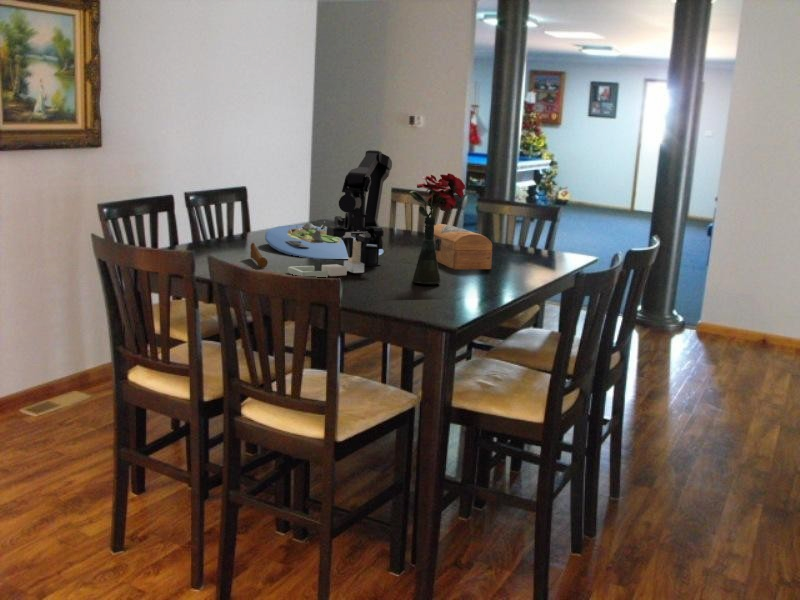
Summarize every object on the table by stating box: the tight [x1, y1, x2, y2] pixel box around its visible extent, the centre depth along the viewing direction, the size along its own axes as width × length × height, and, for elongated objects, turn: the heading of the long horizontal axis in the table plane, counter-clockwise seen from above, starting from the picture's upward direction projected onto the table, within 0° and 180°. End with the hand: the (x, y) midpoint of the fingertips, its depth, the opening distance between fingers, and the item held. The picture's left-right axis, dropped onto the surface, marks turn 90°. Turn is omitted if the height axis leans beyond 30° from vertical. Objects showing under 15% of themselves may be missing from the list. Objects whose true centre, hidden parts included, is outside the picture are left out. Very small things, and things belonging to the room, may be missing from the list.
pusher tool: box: [343, 241, 365, 274], centre depth 271 cm, size 4×7×10 cm, turn 31°
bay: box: [287, 265, 329, 278], centre depth 264 cm, size 9×11×2 cm
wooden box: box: [424, 223, 493, 270], centre depth 304 cm, size 30×16×14 cm, turn 19°
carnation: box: [408, 173, 466, 286], centre depth 262 cm, size 16×18×35 cm
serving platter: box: [264, 220, 385, 260], centre depth 314 cm, size 45×43×12 cm
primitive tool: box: [250, 242, 269, 269], centre depth 279 cm, size 19×6×4 cm
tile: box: [321, 263, 348, 277], centre depth 268 cm, size 6×6×3 cm
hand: (354, 257), depth 271 cm, fingers closed on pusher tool, 3 cm apart
